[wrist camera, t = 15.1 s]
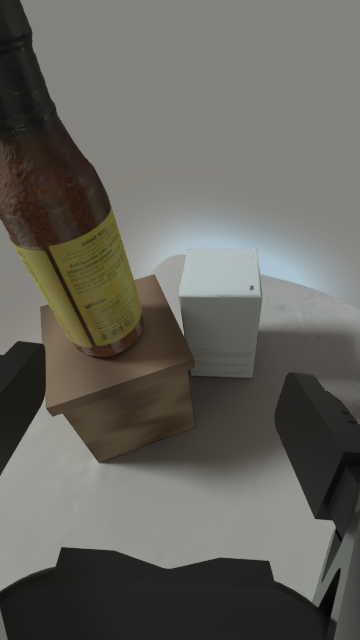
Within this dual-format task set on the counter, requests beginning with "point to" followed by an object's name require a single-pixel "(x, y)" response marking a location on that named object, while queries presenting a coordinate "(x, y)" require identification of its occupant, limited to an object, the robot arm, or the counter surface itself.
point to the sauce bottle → (59, 206)
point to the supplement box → (221, 310)
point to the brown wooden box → (122, 381)
